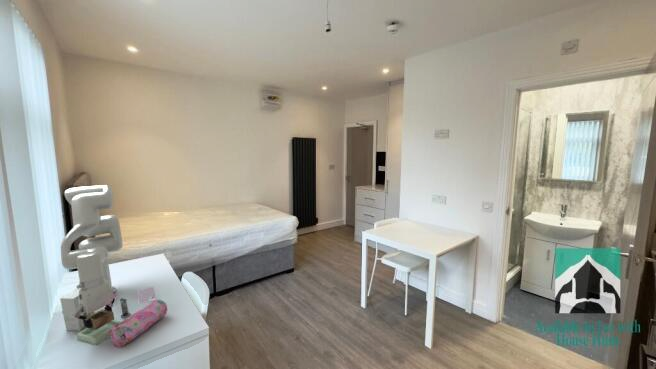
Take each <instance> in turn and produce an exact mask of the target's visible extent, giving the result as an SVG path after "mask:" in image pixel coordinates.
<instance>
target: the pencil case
mask: <svg viewBox="0 0 656 369" xmlns="http://www.w3.org/2000/svg"><path fill="white" fill-rule="evenodd" d="M167 313H168V306H167V303H166V302H165V301H163V300H161V299H157V298H156V299H154V300H151V303H149V304H147V305H145V307H143V308H141V309H140V310H137V311H136V312H135V313H132V314H131V315H130V316H128V317H126V318H124V319H123V320H122V322H120V323H119V324H116V325H115V326H113V327H112V328H111V329H110V336H109V337H110V341H111V344H112V345H113V346H114V347H117V348H118V347H123V346H125V345H126V344H129V343H130V342H131V341H132V340H134V339H135V338H137V336H139V335H141V334H142V333H144V332H145V331H146V330H147V329H149V328H150V327H151V326H153V325H154V324H155V323H156V322H158V321H159V320H160V319H161V318H162V317H165V315H167Z"/></svg>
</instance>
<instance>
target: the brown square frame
mask: <svg viewBox="0 0 656 369" xmlns="http://www.w3.org/2000/svg"><path fill="white" fill-rule="evenodd" d="M114 315H115V314H114V311H113V310H112V311H107V310H105V309H103V308H100V309H98V310H96V311H95V313H94V314H92V315H90V317H89V318H90V319H91V323H92V328H91V329H94V330H97V329H99V328H100V327H102V326H104V325H105V324H107V323H109V322H111V321H112V320H115V316H114ZM84 328H86V327H85V326H84Z"/></svg>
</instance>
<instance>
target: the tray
mask: <svg viewBox="0 0 656 369" xmlns="http://www.w3.org/2000/svg"><path fill="white" fill-rule="evenodd" d="M122 321H123V320H122ZM122 321H121V320H117V319H114V320H112V321H111V322H109V323H107V324H105V325H104V326H102V327H100V328H99V329H97V330H94V329H90V328H84V329H82V331H81V330H80V331H79V332H78V333H76V340H77V341H79V342H83V343H88V344H91V345H94V346H97V345H98V344H100V343H102V342H103V341H105V340H106V339H108V338H109V337H111V336H110V329H111V328H112V327H113V326H115V325H116V324H119V323H120V322H122Z"/></svg>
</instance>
